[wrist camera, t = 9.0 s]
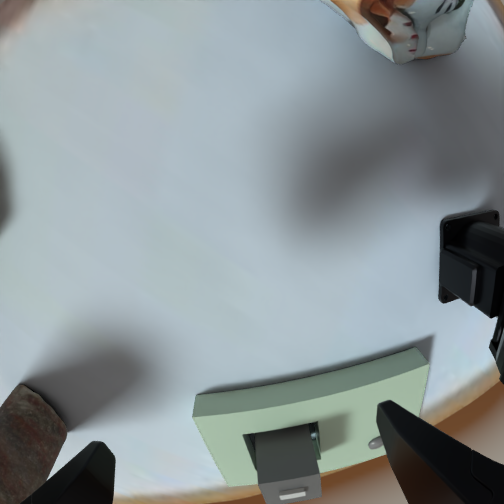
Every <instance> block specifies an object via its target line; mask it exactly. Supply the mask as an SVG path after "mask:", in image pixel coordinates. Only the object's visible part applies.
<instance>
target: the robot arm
mask: <svg viewBox="0 0 504 504" xmlns="http://www.w3.org/2000/svg"><path fill="white" fill-rule="evenodd" d="M494 215H495V216H494ZM447 224H448V227H447V229H446V225H447ZM444 296H445V297H444ZM459 298H460V299H461V300H463V301H464V302H465V303H467V304H468V305H470V306H474V307H476V308H477V309H479V310H480V311H481V312H483V313H484V314H485V315H487V316H488V317H489V318H493V317H497V318H498V319H497V323H496V327H495V331H494V335H493V338H492V339H491V341H490V345H489V349H490V351H491V353H492V354H493V356H494V358H495V360H496V364H497V367H498V369H499V372H500V374H501V375H500V378H499V379H500V381H501V382H502V383H503V384H504V228H502V227H499V212H498V211H496V210H489V211H484V212H479V213H474V214H469V215H464V216H459V217H454V218H449V219H445V220H443V221H442V222H441V224H440V269H439V295H438V299H439V301H440V302H442V303H448V302H451V301H453V300H456V299H459ZM376 423H377V427H378V430H379V433H380V436H381V439H382V442H383V445H384V448H385V451H386V454H387V457H388V460H389V463H390V465H391V468H392V470H393V472H394V474H395V476H396V478H397V480H398V483H399V485H400V487H401V489H402V491H403V493H404V495H405V497H406V499H407V502H408V504H504V465H503V464H500V463H498V462H495V461H493V460H491V459H489V458H487V457H485V456H483V455H482V454H480V453H478V452H476V451H474V450H472V451H471V448H469V447H467V446H466V445H464V444H462V443H461V442H459V441H457V440H455V439H454V438H452V437H450V436H449V435H447V434H445V433H444V432H442V431H440V430H439V429H437V428H435V427H434V426H432V425H431V424H429V423H427V422H426V421H424V420H422V419H421V418H419V417H418V416H416V415H414V414H413V413H411V412H410V411H408V410H406V409H405V408H403V407H402V406H400V405H398V404H397V403H395V402H394V401H392V400H386V401H383V402H380V403H378V405H377V415H376ZM115 463H116V460H115V456H114V454H113V453H112V452H111V451H110V449H109V448H108V447H107V446H106V444H105V443H104V442H101V441H92V442H91V443H90V444H88V445H87V446H86V447H85V448H84V449H83V450H82V451H81V452H79V453H78V454H77V455H76V456H75V457H74V458H73V459H71V460H70V461H69V462H68V463H67V464H66V465H65V466H63V467H62V468H61V469H60V470H59V471H58V472H57V473H55V474H54V475H53V476H52V477H51V478H50V479H48V480H47V481H46V482H45V483H44V484H42V485H41V486H40V487H39V488H38V489H37V490H35V491H34V492H33V493H32V495H29V496H28V497H27V498H26V499H25V500H23V501H22V502H21V503H19V504H112V503H113V496H114V479H115Z"/></svg>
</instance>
